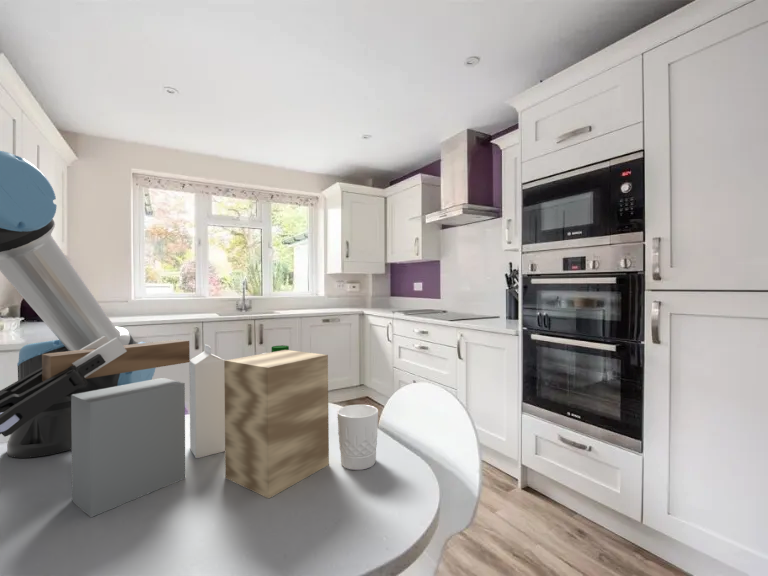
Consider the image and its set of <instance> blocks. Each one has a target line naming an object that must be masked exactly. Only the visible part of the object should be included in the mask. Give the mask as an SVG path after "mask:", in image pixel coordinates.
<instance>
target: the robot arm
mask: <svg viewBox="0 0 768 576" xmlns="http://www.w3.org/2000/svg"><path fill="white" fill-rule="evenodd" d="M55 200H56V193H55V191H54V189H53V186H52V184H51V182H50V181H49V180H48V178H47V177H46V176H45V174H43V172H42V171H41V170H40V169H39V168H38V167H36V166H35V165H34V164H33V163H31V162H30V161H29V160H27V159H25V158H23V157H21V156H19V155H16V154H14V153H10V152H8V151H3V150H0V273H2V275H3V276H4V277H5V278H6V280H7V281H8V282H9V283H10V284H11V285H12V286H13V288H14V289H15V290H16V291H17V293H18V294H19V296H20V295H21V297H22V298H23V300H24V301H25V302H26V303H27V304H28V305H29V307H30V308H31V309H32V310H33V311H34V312H35V313H36V314H37V315H38V318H40V319H41V320H42V322H43V323H44V324H45V325H46V326H47V327H48V329H50V331H51V332H52V333H53V335H54V336H55V337H56V339H55V340H53V339H52V340H47V341H40V342H35V343H29V344H28V343H27V344H25V345H23V346H22V347H21V348H20V349H19V353H18V361H17V381H15V382H13V383H12V384H9V385H8V386H6V387H4V388H2V389H1V390H0V435H2V436H3V437H8V436H9V438H8V440H7V444H6V446H7V449H6V452H7V453H6V454H7V456H8V457H11V458H19V459H27V458H28V459H29V458H36V457H37V458H38V457H44V456H49V455H54V454H59V453H64V452H67V451H70V450H71V451H72V427H71V395H73V394H78V393H83V392H89V391H94V390H99V389H105V388H110V387H115V386H121V385H126V384H131V383H137V382H142V381H147V380H153V378H154V375H155V372H156V369H157V367H156V368H150V369H144V370H138V371H132V372H125V373H119V374H113V375H107V376H100V377H94V378H88V379H85V378H86V377H87V376H89V375H90V374H92V373H93V372H95V371H97V370H98V369H100V368H101V367H103V366H105V365H106V364H108V363H109V362H111V361H112V360H114V359H116V358H117V357H119V356H120V355H122V354H124V353H125V352H127V351H126V349H125V348H124V346H123V345H131V344H141V343H146V342H145V341H140V342H138V341H135V339H134V338H133V337H132V335H131V334H130V332H129V331H128V329H126V328H124V327H122V326H117V325H114V324H113V322H112V321H111V319H110V318H109V317H108V314H107V313H106V312H105V310H104V309H103V307H102V306H101V305H100V303H99V301H97V299H96V298H95V296H94V295H93V292H91V290H90V289H89V288H88V286H87V285H86V283H85V282H84V281H83V279H82V278H81V276H80V275H79V274H78V272H77V270H76V269H75V267H74V266H73V265H72V263H71V262H70V260H69V259H68V258H67V256H66V255H65V253H64V252H63V250H62V249H61V248H60V246H59V245H58V243H57V242H56V241H55V239H54V237H53V236H52V233H53V231H54V229H55V228H56V227H55V226H56V222H55V220H54V218H55V215H56V213H57V204H56V203H55V202H54V201H55ZM94 348H97V349H95V350H94V351H92V352H90V353H89V354H87V355H85V356H83V357H82V358H80V359H78V360H77V361H75V362H73V363H72V364H73V366H70V367H69V368H67V369H65V370H64V371H62V372H60V373H58V374H56V375H54V376H53V377H51V378H49V379H47V380H45V381H42V354H47V353H57V352H66V351H75V350H85V349H94Z"/></svg>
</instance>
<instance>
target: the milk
mask: <svg viewBox="0 0 768 576" xmlns="http://www.w3.org/2000/svg"><path fill="white" fill-rule="evenodd" d="M203 345H204V349H203V350H204V351H202V352H200V353H199V354H197V355H196V356H194V357H193V358H190V362H189V430H190V431H189V439H190V440H189V443H190V444H189V447H190V451H191V452H192V454H193V456H194V458H195V459H200V458H203V457H208V456H211V455H215V454H220V453H223V452H224V453H225V377H224V360H225V359H223V358H222V357H220V356H217V355H215V354H213V353H212V347H211V346H210V345H209V344H205V343H204V344H203Z"/></svg>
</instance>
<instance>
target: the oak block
mask: <svg viewBox="0 0 768 576" xmlns="http://www.w3.org/2000/svg"><path fill="white" fill-rule="evenodd" d="M263 353H264V354H262V353H259V354H253V355H248V356H242V357H236V358H231V359H223V360H224V377H225V451H224V454H225V455H224V461H225V462H224V469H225V471H224V476H225V479H226V480H229V481H231V482H234V483H235V484H237V485H239V486H242V487H244V488H245V489H248V490H250V491H251V492H255V493H257V494H259V495H261V496H262V497H264V498H266V499H271V498H272V497H275V496H276V495H278V494H279V493H281V492H284V491H285V490H288V488H290V487H292V486H293V485H295V484H297V483H299V482H301V481H303V480H305V479H307V478H308V477H310V476H312V475H314V474H315V473H317V472H319V471H320V470H322V469H324V468H325V467H328V466H329V465H330V451H329V448H330V446H329V445H330V443H329V442H330V440H329V439H330V437H329V433H330V432H329V430H330V428H329V425H330V424H329V355H328V354H324V353H323V354H322V353H315V352H306V351H299V350H290V349H289V350H281V351H276V352H272V351H270V352H263Z"/></svg>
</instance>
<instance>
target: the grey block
mask: <svg viewBox="0 0 768 576" xmlns="http://www.w3.org/2000/svg"><path fill="white" fill-rule="evenodd" d="M185 384H186V383H185V382H181V381H177V380H174V379H170V378H166V377H159V378H154V379H153V378H152V380H147V381H142V382H137V383H131V384H126V385H121V386H115V387H110V388H105V389H99V390H94V391H89V392H83V393H78V394H73V395H71V427H72V449H71V501H72V502H73V503H74V504H75V505H76V506H77V507H78V508H80V510H82V511H83V512H84V513H85V514H86V515H87V516H89V517H90V518H93V517H95V516H98V515H101V514H102V513H105V512H108V511H109V510H112V509H114V508H117V507H119V506H122V505H124V504H127V503H129V502H131V501H133V500H136V499H139V498H141V497H143V496H146V495H148V494H150V493H153V492H155V491H157V490H160V489H162V488H165V487H167V486H170V485H173V484H174V483H177V482H180V481H182V480H184V479H186V397H185V396H186V395H185V394H186V393H185V392H186V390H185V389H186V388H185V387H186V385H185Z"/></svg>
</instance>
